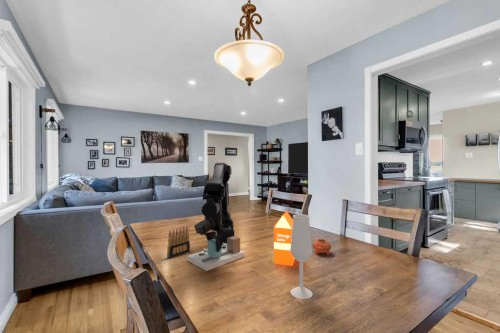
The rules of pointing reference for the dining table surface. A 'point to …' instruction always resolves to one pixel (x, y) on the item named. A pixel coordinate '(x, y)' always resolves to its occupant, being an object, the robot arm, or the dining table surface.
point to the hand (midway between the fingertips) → (214, 250)
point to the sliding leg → (212, 249)
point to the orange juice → (283, 240)
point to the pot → (322, 246)
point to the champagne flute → (301, 250)
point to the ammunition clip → (178, 243)
